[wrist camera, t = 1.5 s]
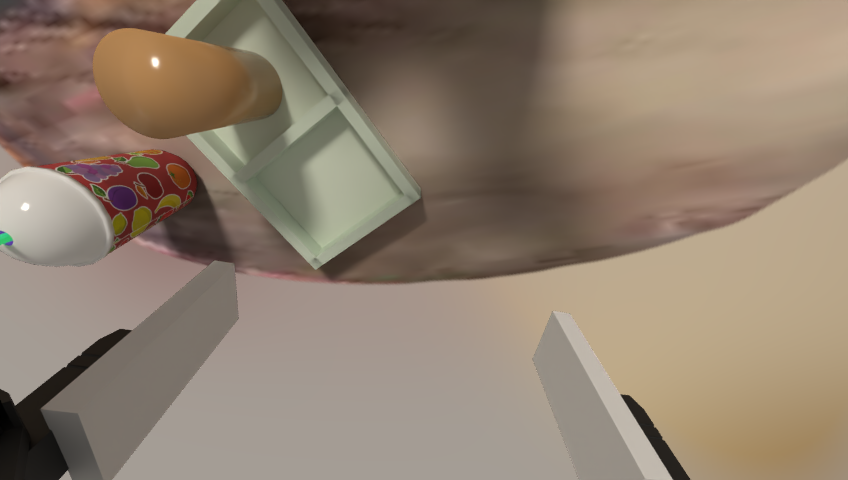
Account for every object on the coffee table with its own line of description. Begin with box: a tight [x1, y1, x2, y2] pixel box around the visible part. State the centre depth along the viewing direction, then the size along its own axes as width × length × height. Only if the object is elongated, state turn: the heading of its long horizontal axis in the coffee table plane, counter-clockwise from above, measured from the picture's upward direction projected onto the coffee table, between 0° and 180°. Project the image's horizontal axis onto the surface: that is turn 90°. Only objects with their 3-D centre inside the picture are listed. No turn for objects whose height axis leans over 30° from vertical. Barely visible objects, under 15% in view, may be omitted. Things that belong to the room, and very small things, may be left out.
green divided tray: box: [166, 0, 421, 270], centre depth 36 cm, size 26×15×4 cm, turn 35°
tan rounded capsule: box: [93, 28, 283, 139], centre depth 28 cm, size 6×6×14 cm
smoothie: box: [0, 149, 197, 267], centre depth 30 cm, size 8×8×20 cm
